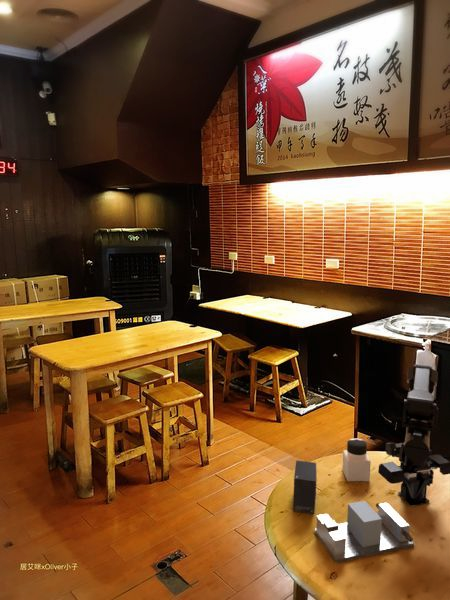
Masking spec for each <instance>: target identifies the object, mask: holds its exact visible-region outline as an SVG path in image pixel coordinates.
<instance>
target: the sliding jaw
mask: <svg viewBox="0 0 450 600" xmlns="http://www.w3.org/2000/svg"><path fill="white" fill-rule="evenodd" d="M375 508H376V509H378V510H377V511H378V512H377V514H378V515H379V516H380V517H381V519H382V524H383V525H384V526H385V527H386V528H387V529H388V530H389V531H390V532H391V533H392V534H393V535H394V537H395V538H396V539H397V540H398V541H399V542H405V541H409V542H411V541H413V540H414V538H413V537H412V536H411V535H410V527H411V526H410V524H409V523H408V522H407V521H406V520H405V519H404V518H403V517H402V516H401V515H400V514H399V513H398V512H397V511H396V510H395V509H394V508H393V507H392V506H391V505H390V504H389V503H388V502H384V503H379V502H378V503H376V504H375Z"/></svg>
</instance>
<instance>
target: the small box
mask: <svg viewBox="0 0 450 600" xmlns="http://www.w3.org/2000/svg"><path fill="white" fill-rule="evenodd" d="M317 477H318V476H317V462H315V461H314V462H311V461H305V460H304V461H303V460H299V459H298V460H295V467H294V475H293V499H292V500H293V501H292V511H293V512H299V513H305V514H315V509H316V508H315V507H316V499H317Z"/></svg>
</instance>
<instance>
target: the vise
mask: <svg viewBox="0 0 450 600" xmlns="http://www.w3.org/2000/svg"><path fill="white" fill-rule="evenodd" d="M314 534H315V535H316V537H317V538H318V540H319V541H320V542H321V543H322V545H323V547H324V548H325V550H326V551H327V552H328V553H329V555H330V557H331V558H332V559H333V561H334V562H335V564H338V563H342V562H343V563H344V562H347V561H353V560H356V559H357V560H358V559H362V558H367V557H371V556H377V555H381V554H386V553H390V552H391V553H392V552H395V551H400V550H405V549H410V548H413V547H415V542H414V541H413V540H412V541H411V542H409V541H405V542H399V541H398V540H397V539H396V538H395V537H394V535H393V534H392V533H391V532H390V531H389V530H388V529H387V528H386V527H385V526H384V525H383V524H381V542H380V544H376V545H371V546H366V547H362V546H361V544H360V543H359V542H358V541H357V539H356V538H355V537H354V536H353V534H352V533H351V532H350V531H349V529H348V528H347V522H343V523H337V522H336V520H335V519H332V518H331V517H330V515H329V514H328V513H324V514H319V515H316V527H315V528H314Z"/></svg>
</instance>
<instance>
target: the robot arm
mask: <svg viewBox="0 0 450 600" xmlns="http://www.w3.org/2000/svg"><path fill="white" fill-rule="evenodd" d="M438 373H439V371H437V370H435V369H434V368H433V366H430V365H426V364H425V365H424V364H413V366H412V367H408V368H407V376H406V383H407V384H408V389H409V390H408V392H407V397H406V399H405V398H404V400H403V411H402V421H401V422H402V423H401V427H403V428H406V429H405V438H404V442H400V443H395V442H390V441H389V442H386V443H385V453H386V455H388V456H391V457H392V458H398V461H399V462H400V464H399V465H397V464H396V463H395V462H394V461H389V462H382V463H380V464H378V465H379V466H378V471H377V472H378V474H379V475H380V476H381V477H383V479H384V480H386V482H388V483H389V484H399V483H401V484H400V491H398V493H397V495H398V496H400V497H401V498H402V499H403V500H404V501H405V502H406V503H407V504H408V505H409V506H411V507H413V506H418V505H424V504H429V503H430V500H429V499H428V498H427V490H428V489H427V487H430V486H431V485H433V484H434V474H435V473H434V470H437V469H439V473H440V474H441V475H443V476H445V475H450V461H449V460H448V459H446V458H445V457H443V456H442V455H441V454H433V450H431V449H430V442H431V441H430V438H431V437H430V436H431V432H433V433H435V432H436V431H435V430H436V427H437V428H438V422H439V408H438V405H437V403H435V402H434V395H433V394H434V391H435V387H437V386H438V385H437V384H438ZM406 418H407V419H406ZM430 422H431V423H430Z"/></svg>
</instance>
